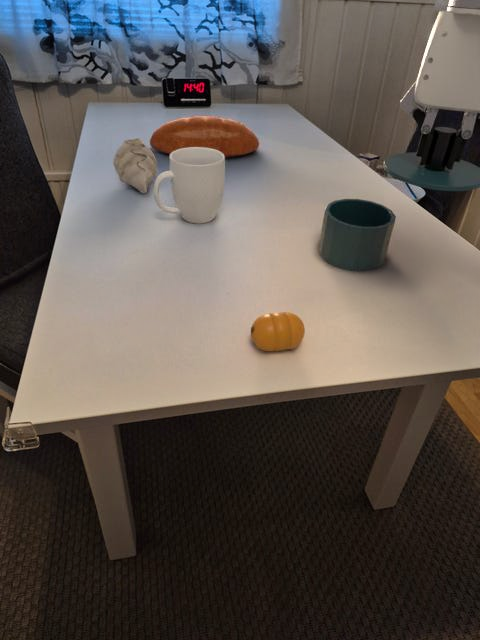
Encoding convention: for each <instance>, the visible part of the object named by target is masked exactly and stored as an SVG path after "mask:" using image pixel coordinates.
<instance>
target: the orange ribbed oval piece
mask: <svg viewBox="0 0 480 640" xmlns="http://www.w3.org/2000/svg"><path fill="white" fill-rule="evenodd" d="M305 332H306V329H305V324H304V322H303V320H302V318H300V316H298V315H297V314H295V313H294V312H289V311H283V312H281V311H280V312H272V313H267V314H265V313H264V314H262V315H260V316H258V317H257V318H256V319H254V321H253V323H252V325H251V327H250V337H251V340H252V342H253V343H254V345H255V346H256V347H257V348H259V350H263V351H265V352H275V351H283V350H291V349H293V348H295V347H297V346H298V345H300V343H301V342H302V341H303V339H304V337H305Z"/></svg>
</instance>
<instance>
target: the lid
mask: <svg viewBox="0 0 480 640" xmlns="http://www.w3.org/2000/svg"><path fill="white" fill-rule="evenodd" d="M433 131H434V133H433V139H432V143H431V146H430V150H429V153H428V157H427V160H426V163H425V165H423V166H422V165H419V164H420V157H418V156H416V153H417V152H400V153H395V154H392V155H389V156H387V157H386V158H385V159H384V161H383V166H382V167H383V170H384V171H385V172H386V173H387V174H388V176H390V177H392V178H394V179H396V180H398V181H400V182H403V183H405V184H409V185H412V186H416V187H419V188H423V189H429V190H434V191H442V192H443V191H445V192H465V191H472V190H477V189H479V188H480V167H479V166H477V165H475V164H473V163H471V162H469V161H466V160H463V159H460V162H454V165H453V168H452V170H450V169H448V168H446V165H447V162H448V159H449V156H450V152H451V149H452V146H453V143H454V140H455V137H456V134H457V132H458V130H457V129H456V128H452V127H448V126H447V127H446V126H436V127H434V128H433Z"/></svg>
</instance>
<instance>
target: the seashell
mask: <svg viewBox="0 0 480 640" xmlns="http://www.w3.org/2000/svg"><path fill="white" fill-rule="evenodd" d="M112 164H113V167H114V171H115V172H116V174H117V176H118V178H119V180H120V181H121V182H122V183H125V184H126V185H130V186H132V187H133V188H134V189H137V190H138V191H139V192H140V194H142V195H143V194H147V193H148V192H147V191H148V186H149V184H151V183H152V182H153V180H154V179H155V178H156V176H157V173H158V163H157V159H156V157H155V155H154V153H153V152H152V150H151V149H150V147H148V146H147V145H146V144H145V143H144V141H143V140H142V139H141V138H133V139H126V140H124V141H123V143H122V145H120V146H119V148H118V149H117V150H116V152H115V155H114V157H113V163H112Z"/></svg>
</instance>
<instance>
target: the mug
mask: <svg viewBox="0 0 480 640" xmlns="http://www.w3.org/2000/svg"><path fill="white" fill-rule="evenodd" d="M168 157H169V170H166V171H163V172H161V173H160V174H158V176H157V177H156V179H155V181H154V184H153V192H152V193H153V198H154V201H155V203H156V205H157V206H158V207H159V209H160V210H162V211H164V212H166V213H171V214H179V215H180V216H181V217H182V219H184V221H186V222H189V223H190V224H191V223H192V224H207V223H209V222H211V221H212V220H214V218H215V217H216V216H217V215H218V212H219V211H220V209H221V206H222V202H223V200H224V199H223V198H224V195H225V194H224V193H225V183H226V182H225V179H226V174H225V173H226V164H225V163H226V157H225V156H224V154H223V153H221V152H220V151H218V150H215V149H211V148H205V147H188V148H182V149H178V150H175V151H173V152H172V153H171V154H169V156H168ZM166 179H170V186H171V194H172V196H173V200H174V203H175V206H174V207H173V206H171V207H169V206H167V205H164V204H163V202H162V201H161V199H160V195H159V194H160V193H159V189H160V185H161V183H162V182H163V181H164V180H166Z"/></svg>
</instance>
